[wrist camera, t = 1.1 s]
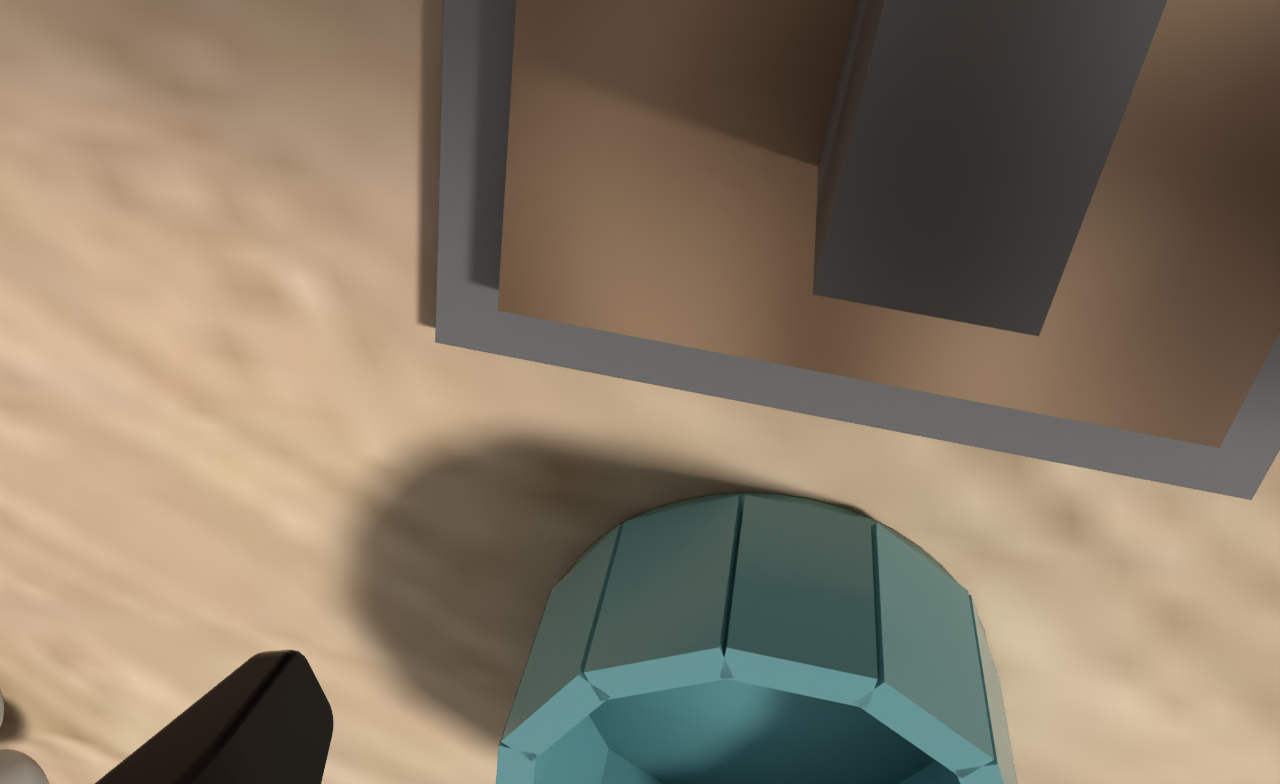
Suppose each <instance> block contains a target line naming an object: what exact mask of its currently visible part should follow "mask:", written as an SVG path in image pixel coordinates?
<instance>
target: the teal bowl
mask: <svg viewBox="0 0 1280 784" xmlns="http://www.w3.org/2000/svg"><path fill="white" fill-rule="evenodd" d="M496 784H1018V782H1017V777H1016V771H1015V765H1014V759H1013V754H1012V748H1011V742H1010V736H1009V731H1008V725H1007V719H1006V713H1005V708H1004V702H1003V696H1002V690H1001V685H1000V680H999V677H998V674H997V671H996V668H995V665H994V662H993V659H992V656H991V653H990V650H989V647H988V643H987V639H986V635H985V631H984V628H983V626H982V624H981V621H980V619H979V617H978V614H977V611H976V608H975V605H974V602H973V599H972V596H971V595H969V594H968V590H966V589H965V588H964V587H962V586H961V585H960V584H958V583H957V582H956V580H955V579H954V578H953V577H952V576H951V575H950V574H949V573H948V571H947V570H946V569H945V568H944V567H943V566H942V565H941V564H940V563H938V562H937V561H936V560H935V559H934V558H933V557H932V556H930V555H929V554H928V553H927V552H926V551H925V550H923V549H922V548H921V547H919V546H918V545H916V544H915V543H913V542H912V541H910V540H909V539H907V538H906V537H904V536H903V535H901V534H900V533H898V532H896V531H894V530H893V529H891V528H889V527H887V526H885V525H883V524H881V523H879V522H877V521H875V520H873V519H871V518H868V517H866V516H863V515H860V514H858V513H855V512H852V511H850V510H847V509H844V508H841V507H838V506H835V505H831V504H827V503H823V502H819V501H815V500H811V499H806V498H799V497H792V496H785V495H778V494H760V493H734V494H719V495H709V496H703V497H698V498H692V499H687V500H681V501H678V502H675V503H671V504H668V505H665V506H661V507H658V508H655V509H652V510H650V511H648V512H646V513H643V514H641V515H639V516H636V517H634V518H632V519H630V520H628V521H625V522H624V523H623V524H619V525H618V526H617V527H616V528H615V529H613V530H611V531H610V532H608V533H606V534H605V535H604V536H603V537H602V538H600V539H599V540H598V541H597V542H596V543H594V544H593V545H592V546H591V547H589V548H588V549H587V550H586V551H585V553H584V554H583V555H582V556H581V557H580V558H579V559H578V560H577V562H576V563H575V564H574V565H573V566H572V568H571V569H570V571H569V572H568V574H567V575H566V576H565V577H564V578H563V579H562V580H561V581H560V582H559V583H558V584H557V585H556V586H554V587H553V588H552V591H551V592H550V595H549V598H548V601H547V604H546V607H545V610H544V613H543V616H542V619H541V622H540V625H539V628H538V631H537V634H536V637H535V640H534V643H533V646H532V649H531V652H530V655H529V658H528V661H527V664H526V667H525V670H524V673H523V676H522V679H521V682H520V685H519V688H518V691H517V693H516V696H515V699H514V702H513V705H512V708H511V711H510V714H509V717H508V720H507V723H506V726H505V729H504V732H503V735H502V738H501V741H500V744H499V751H498V763H497V776H496Z"/></svg>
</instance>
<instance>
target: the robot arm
mask: <svg viewBox="0 0 1280 784" xmlns="http://www.w3.org/2000/svg"><path fill="white" fill-rule="evenodd" d="M332 733H333V714H332V710H331V706H330V704H329V702H328V700H327V698H326V696H325V694H324V692H323V690H322V688H321V686H320V684H319V682H318V680H317V678H316V677H315V675H314V673H313V671H312V669H311V667H310V665H309V663H308V661H307V659H306V658H305V656H304V655H302V654H301V653H300V652H298V651H295V650H282V651H268V652H262V653H258V654H256V655H254V656H253V657H251V658H250V659H249V660H248V661H246V662H245V663H244V664H243V665H241V666H240V667H239V668H238V669H236V670H235V671H234V672H233V673H231V674H230V675H229V676H228V677H226V678H225V679H224V680H223V681H221V682H220V683H219V684H218V685H217V686H215V687H214V688H213V689H212V690H210V691H209V692H208V693H207V694H205V695H204V696H203V697H202V698H200V699H199V700H198V701H197V702H195V703H194V704H193V705H192V706H190V707H189V708H188V709H187V710H185V711H184V712H183V713H182V714H181V715H179V716H178V717H177V718H176V719H174V720H173V721H172V722H171V723H169V724H168V725H167V726H166V727H164V728H163V729H162V730H161V731H159V732H158V733H157V734H156V735H154V736H153V737H152V738H151V739H149V740H148V741H147V742H146V743H145V744H143V745H142V746H141V747H140V748H138V749H137V750H136V751H135V752H133V753H132V754H131V755H130V756H128V757H127V758H126V759H125V760H123V761H122V762H121V763H120V764H118V765H117V766H116V767H115V768H113V769H112V770H111V771H110V772H108V773H107V774H106V775H105V776H104V777H102V778H101V779H100V780H99V781H97V782H96V783H95V784H321V781H322V777H323V773H324V768H325V764H326V760H327V755H328V751H329V747H330V742H331V738H332Z"/></svg>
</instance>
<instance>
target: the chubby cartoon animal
mask: <svg viewBox="0 0 1280 784" xmlns="http://www.w3.org/2000/svg"><path fill="white" fill-rule="evenodd" d="M3 716H4V701H3V696H2V692H1V690H0V727H1V725H2V721H3ZM0 784H49V782H48V780H47V777H46V775H45V773H44V772H43V770H42V768H41V767H40V766H39V765H38V764H37V763H36V762H35V761H34V760H33V759H32V758H31V757H29V756H27V755H26V754H24V753H21V752H18V751H15V750H8V749H5V750H0Z"/></svg>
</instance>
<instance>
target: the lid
mask: <svg viewBox="0 0 1280 784" xmlns="http://www.w3.org/2000/svg"><path fill="white" fill-rule="evenodd" d="M498 311H502V312H508V313H513V314H518V315H523V316H529V317H534V318H539V319H544V320H550V321H555V322H560V323H565V324H571V325H576V326H581V327H586V328H592V329H597V330H602V331H607V332H613V333H618V334H623V335H628V336H634V337H639V338H644V339H649V340H655V341H660V342H665V343H670V344H676V345H681V346H686V347H691V348H697V349H702V350H707V351H712V352H718V353H723V354H728V355H733V356H739V357H744V358H749V359H754V360H760V361H765V362H770V363H775V364H781V365H786V366H791V367H797V368H802V369H807V370H812V371H818V372H823V373H828V374H833V375H839V376H844V377H849V378H854V379H860V380H865V381H870V382H875V383H881V384H886V385H891V386H896V387H902V388H907V389H912V390H917V391H923V392H928V393H933V394H938V395H944V396H949V397H954V398H959V399H965V400H970V401H975V402H980V403H986V404H991V405H996V406H1001V407H1007V408H1012V409H1017V410H1022V411H1028V412H1033V413H1038V414H1043V415H1049V416H1054V417H1059V418H1064V419H1070V420H1075V421H1080V422H1085V423H1091V424H1096V425H1101V426H1106V427H1112V428H1117V429H1122V430H1127V431H1133V432H1138V433H1143V434H1149V435H1154V436H1159V437H1164V438H1170V439H1175V440H1180V441H1185V442H1191V443H1196V444H1201V445H1206V446H1212V447H1217V448H1220V446H1221V444H1222V442H1223V440H1224V438H1225V436H1226V434H1227V433H1228V431H1229V429H1230V427H1231V425H1232V423H1233V421H1234V419H1235V417H1236V415H1237V413H1238V411H1239V410H1240V408H1241V406H1242V404H1243V402H1244V400H1245V398H1246V396H1247V394H1248V392H1249V390H1250V389H1251V387H1252V385H1253V383H1254V381H1255V379H1256V377H1257V375H1258V373H1259V371H1260V369H1261V368H1262V366H1263V364H1264V362H1265V360H1266V358H1267V356H1268V354H1269V352H1270V350H1271V348H1272V347H1273V345H1274V343H1275V341H1276V339H1277V337H1278V335H1279V333H1280V0H516V16H515V33H514V49H513V66H512V82H511V99H510V115H509V132H508V148H507V165H506V181H505V198H504V214H503V231H502V247H501V264H500V280H499V297H498Z"/></svg>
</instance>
